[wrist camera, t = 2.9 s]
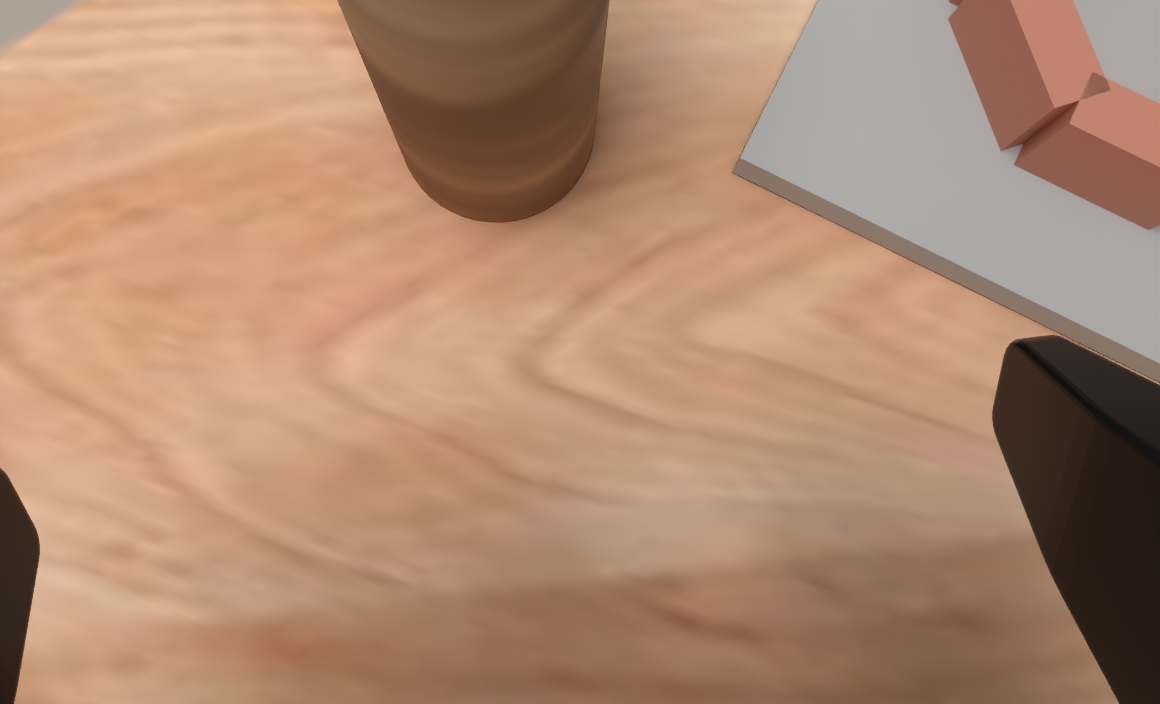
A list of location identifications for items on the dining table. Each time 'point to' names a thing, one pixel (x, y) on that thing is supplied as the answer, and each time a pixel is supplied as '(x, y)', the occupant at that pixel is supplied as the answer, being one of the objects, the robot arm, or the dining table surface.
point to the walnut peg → (487, 95)
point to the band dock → (987, 151)
